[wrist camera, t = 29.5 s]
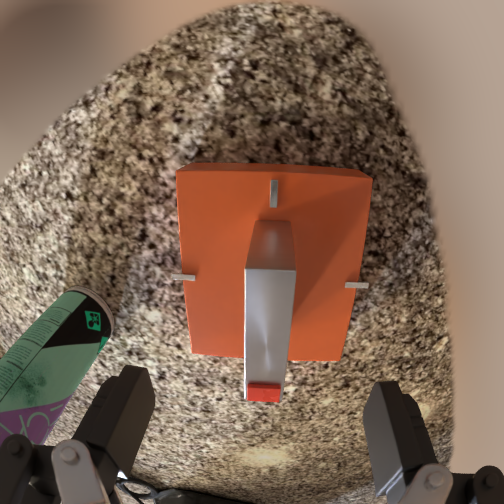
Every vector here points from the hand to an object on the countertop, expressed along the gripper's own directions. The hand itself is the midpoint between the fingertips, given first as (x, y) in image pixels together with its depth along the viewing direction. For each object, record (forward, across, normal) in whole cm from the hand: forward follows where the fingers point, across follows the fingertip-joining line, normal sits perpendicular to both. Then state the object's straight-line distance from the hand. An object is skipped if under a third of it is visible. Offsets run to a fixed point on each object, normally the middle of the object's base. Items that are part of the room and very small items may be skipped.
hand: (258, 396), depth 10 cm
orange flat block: (+11, 0, 0) cm, 11 cm away
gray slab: (+8, 0, 0) cm, 8 cm away
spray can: (+11, +15, +6) cm, 20 cm away
